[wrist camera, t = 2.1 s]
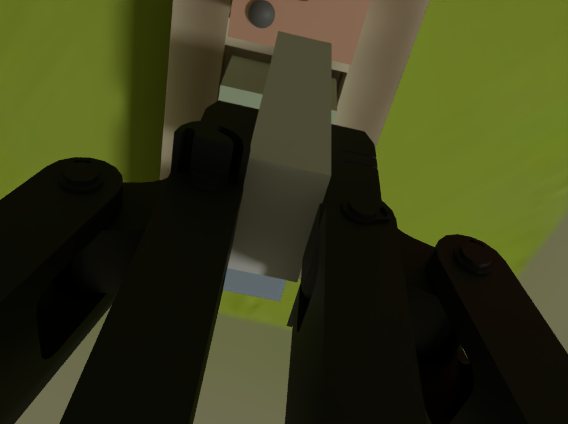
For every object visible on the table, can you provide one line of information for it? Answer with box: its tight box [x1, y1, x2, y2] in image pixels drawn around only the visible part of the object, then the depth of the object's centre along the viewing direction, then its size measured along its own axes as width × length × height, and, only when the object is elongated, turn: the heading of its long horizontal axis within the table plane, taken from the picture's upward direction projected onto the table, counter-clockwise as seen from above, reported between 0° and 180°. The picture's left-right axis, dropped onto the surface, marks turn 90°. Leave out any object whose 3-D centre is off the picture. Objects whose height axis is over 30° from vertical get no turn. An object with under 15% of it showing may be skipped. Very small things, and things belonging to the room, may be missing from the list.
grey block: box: [223, 268, 286, 301], centre depth 35 cm, size 6×6×4 cm
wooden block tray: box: [160, 0, 430, 279], centre depth 33 cm, size 13×26×4 cm, turn 168°
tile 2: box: [218, 55, 337, 124], centre depth 30 cm, size 6×6×4 cm
